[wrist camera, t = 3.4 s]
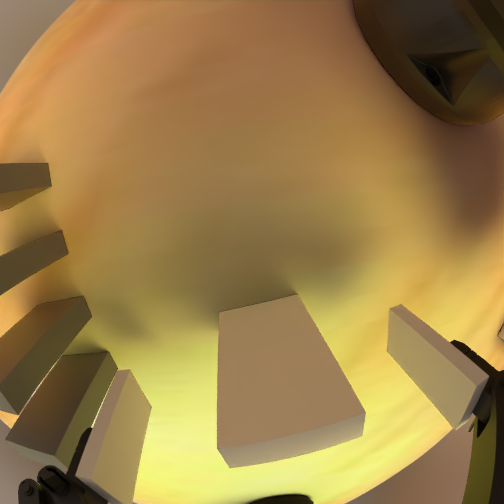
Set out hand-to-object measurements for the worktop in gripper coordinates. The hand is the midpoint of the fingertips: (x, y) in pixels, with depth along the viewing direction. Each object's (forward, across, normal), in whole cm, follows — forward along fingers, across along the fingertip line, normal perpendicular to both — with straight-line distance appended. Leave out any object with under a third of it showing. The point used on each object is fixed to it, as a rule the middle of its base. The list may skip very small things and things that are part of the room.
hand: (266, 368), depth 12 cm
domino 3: (+6, -13, +3) cm, 15 cm away
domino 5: (+5, 0, 0) cm, 5 cm away
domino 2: (+5, -13, +8) cm, 16 cm away
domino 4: (+6, -13, -2) cm, 15 cm away
